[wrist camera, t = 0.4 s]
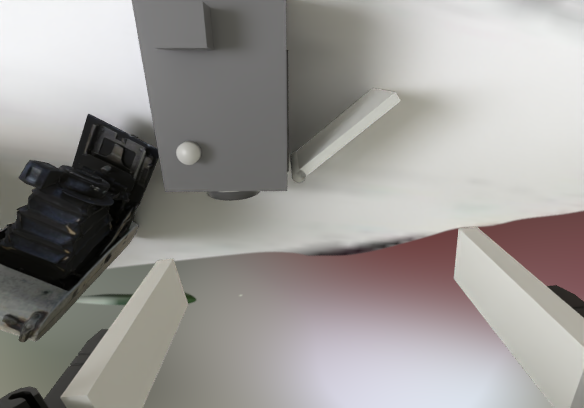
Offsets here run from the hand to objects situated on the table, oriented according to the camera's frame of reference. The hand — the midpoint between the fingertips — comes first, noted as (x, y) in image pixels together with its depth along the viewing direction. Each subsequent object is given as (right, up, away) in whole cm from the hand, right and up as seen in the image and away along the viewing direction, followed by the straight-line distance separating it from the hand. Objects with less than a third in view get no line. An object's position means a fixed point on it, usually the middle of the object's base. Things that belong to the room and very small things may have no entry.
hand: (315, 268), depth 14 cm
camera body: (-8, +16, +22) cm, 28 cm away
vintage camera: (-24, +6, +26) cm, 36 cm away
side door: (+4, +12, +23) cm, 27 cm away
